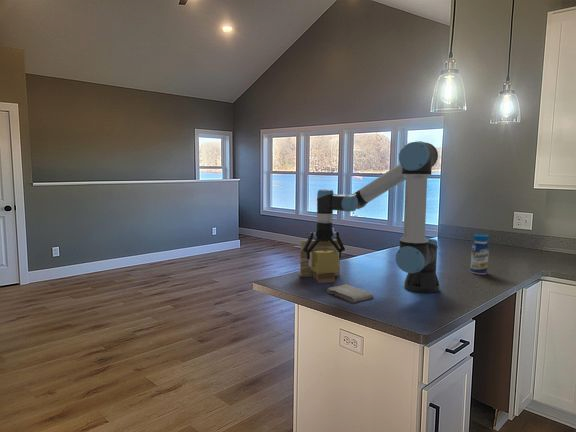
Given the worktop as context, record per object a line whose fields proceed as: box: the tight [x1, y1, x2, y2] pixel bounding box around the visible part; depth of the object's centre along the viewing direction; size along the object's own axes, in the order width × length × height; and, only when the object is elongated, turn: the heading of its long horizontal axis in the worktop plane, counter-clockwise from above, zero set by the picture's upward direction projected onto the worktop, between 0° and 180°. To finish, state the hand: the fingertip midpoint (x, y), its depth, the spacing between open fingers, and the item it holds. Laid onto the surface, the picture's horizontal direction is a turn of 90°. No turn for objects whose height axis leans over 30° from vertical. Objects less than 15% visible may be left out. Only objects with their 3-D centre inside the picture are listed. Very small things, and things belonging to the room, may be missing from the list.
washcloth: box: [326, 284, 374, 303], centre depth 178 cm, size 12×18×3 cm, turn 35°
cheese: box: [310, 249, 338, 274], centre depth 201 cm, size 10×11×10 cm
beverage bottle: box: [469, 233, 490, 275], centre depth 217 cm, size 8×8×20 cm
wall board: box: [298, 239, 341, 284], centre depth 204 cm, size 16×20×18 cm
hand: (323, 265), depth 202 cm, fingers open, 13 cm apart
